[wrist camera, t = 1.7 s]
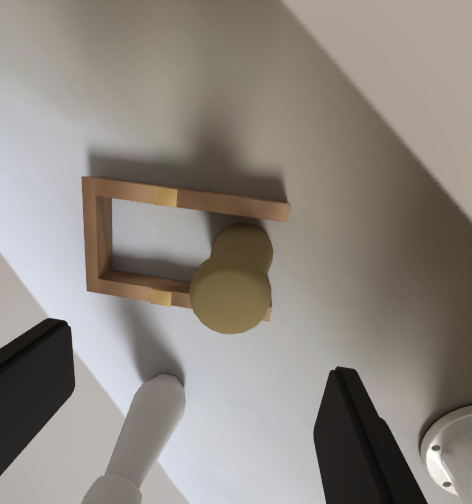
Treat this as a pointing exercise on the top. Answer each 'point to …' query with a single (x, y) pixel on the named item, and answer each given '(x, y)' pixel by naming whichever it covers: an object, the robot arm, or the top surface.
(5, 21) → the top surface
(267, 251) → the pepper shaker
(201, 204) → the wooden u-shaped frame
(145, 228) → the top surface
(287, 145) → the top surface
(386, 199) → the top surface
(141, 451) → the salt shaker
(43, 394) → the robot arm
